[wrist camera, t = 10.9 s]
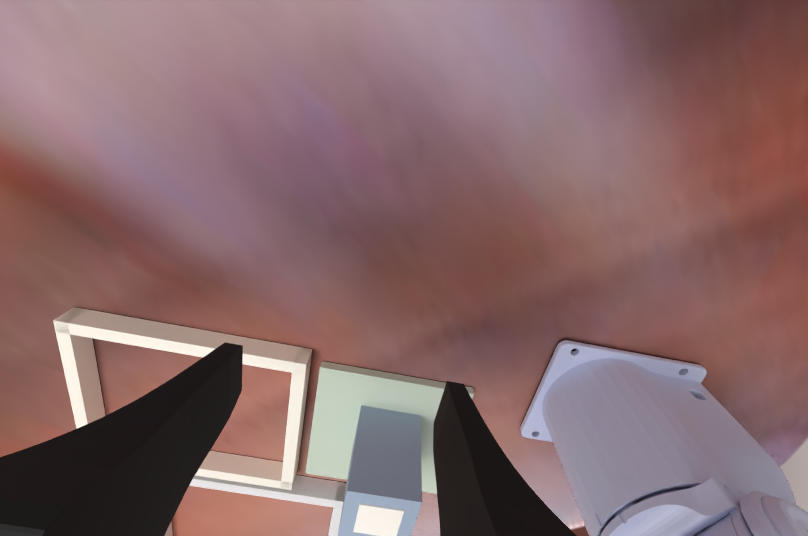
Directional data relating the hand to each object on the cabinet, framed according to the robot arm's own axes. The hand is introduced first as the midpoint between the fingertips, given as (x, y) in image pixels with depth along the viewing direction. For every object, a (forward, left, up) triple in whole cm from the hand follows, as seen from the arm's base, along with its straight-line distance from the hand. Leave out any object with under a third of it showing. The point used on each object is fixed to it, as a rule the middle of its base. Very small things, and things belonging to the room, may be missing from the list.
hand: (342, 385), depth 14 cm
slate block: (-3, +12, -9) cm, 15 cm away
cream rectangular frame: (+10, +12, -9) cm, 18 cm away
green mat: (-3, +12, -9) cm, 16 cm away
